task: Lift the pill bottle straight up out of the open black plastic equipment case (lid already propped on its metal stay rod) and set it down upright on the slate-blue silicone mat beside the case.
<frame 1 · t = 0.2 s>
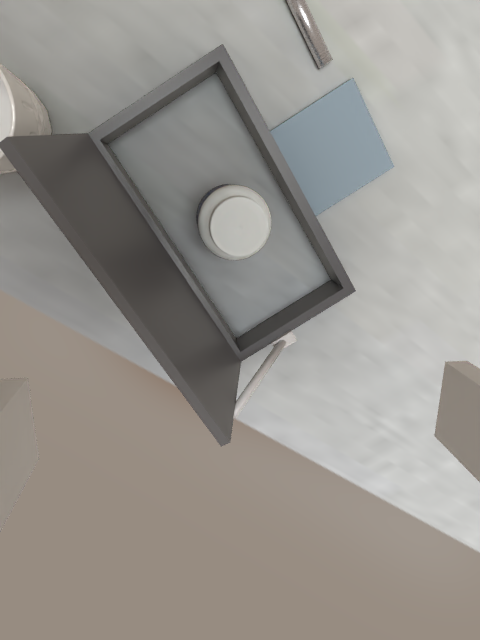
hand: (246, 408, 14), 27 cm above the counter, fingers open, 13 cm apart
pill bottle: (226, 216, 40), resting in case
white cup: (8, 126, 36), on the counter
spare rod: (300, 16, 36), on the counter
mat: (331, 150, 39), on the counter
case: (227, 216, 40), on the counter
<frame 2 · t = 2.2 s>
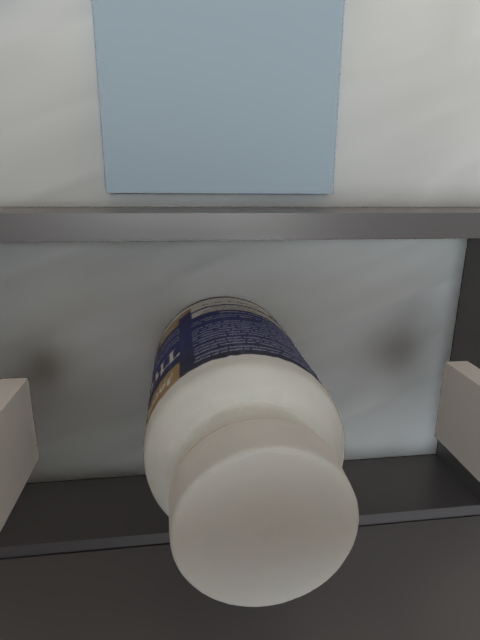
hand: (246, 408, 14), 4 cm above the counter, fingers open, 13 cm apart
pill bottle: (221, 357, 19), resting in case
mat: (220, 70, 16), on the counter
case: (222, 359, 19), on the counter
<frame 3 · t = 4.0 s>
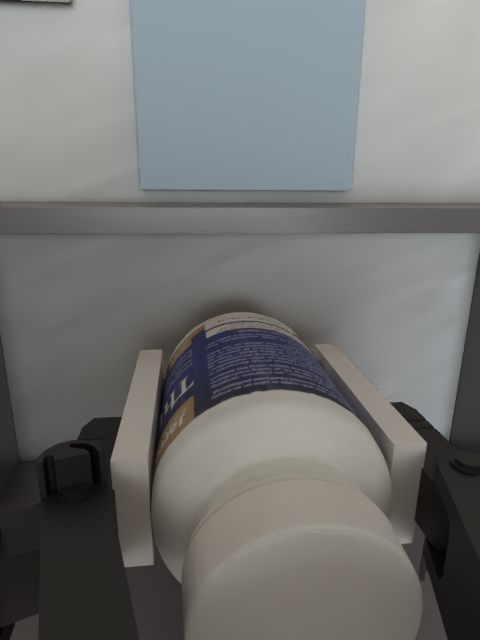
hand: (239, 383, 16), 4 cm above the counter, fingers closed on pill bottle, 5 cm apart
pill bottle: (238, 377, 17), point 3 cm above the counter, touching gripper
mat: (247, 75, 17), on the counter
case: (244, 346, 20), on the counter
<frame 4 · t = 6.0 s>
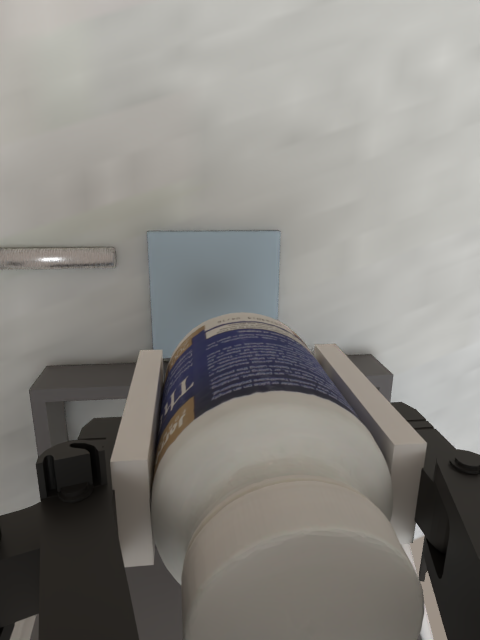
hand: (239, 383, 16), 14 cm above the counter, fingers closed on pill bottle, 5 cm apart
pill bottle: (238, 378, 17), point 13 cm above the counter, touching gripper
white cup: (15, 579, 34), on the counter
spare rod: (47, 256, 27), on the counter
mat: (214, 294, 29), on the counter
case: (216, 439, 32), on the counter
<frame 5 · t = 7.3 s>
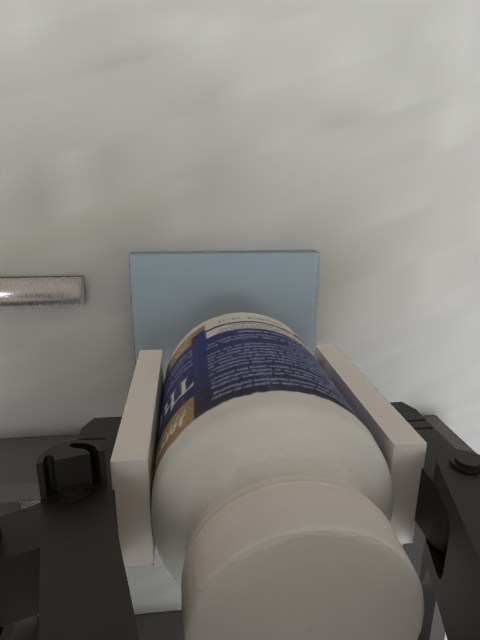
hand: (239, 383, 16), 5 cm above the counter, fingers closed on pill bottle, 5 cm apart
pill bottle: (238, 378, 17), point 4 cm above the counter, touching gripper
mat: (225, 339, 21), on the counter
case: (225, 528, 24), on the counter
when the fingers open (2 cm above the counter, at t = 8.2 s): pill bottle moves 1 cm, resting on mat.
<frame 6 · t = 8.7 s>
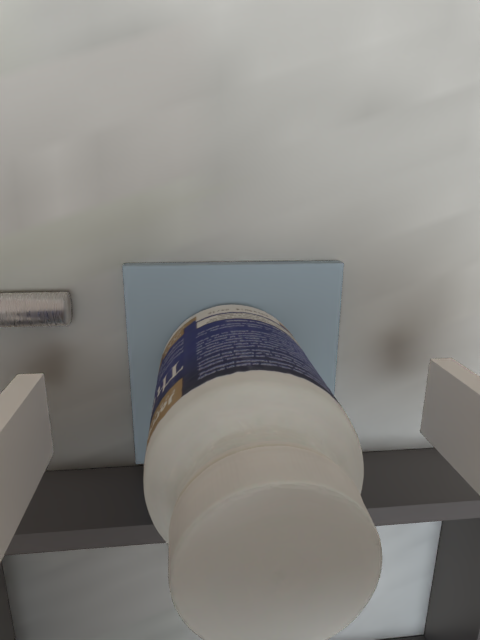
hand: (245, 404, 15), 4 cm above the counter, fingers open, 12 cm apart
pill bottle: (229, 367, 18), resting on mat
mat: (234, 361, 18), on the counter
case: (233, 572, 21), on the counter
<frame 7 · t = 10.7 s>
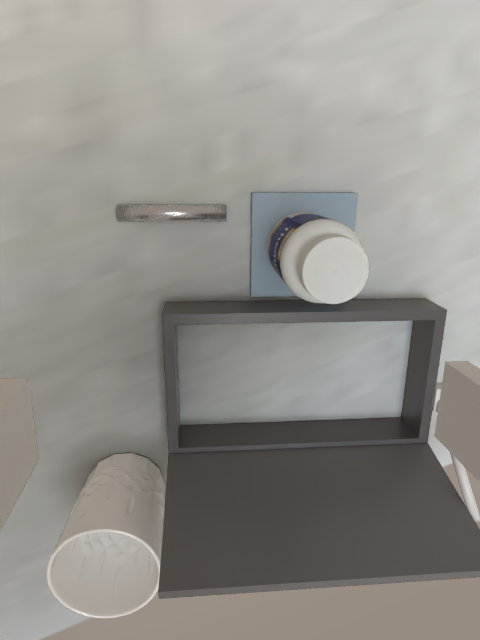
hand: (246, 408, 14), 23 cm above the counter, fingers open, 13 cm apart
pill bottle: (299, 246, 36), resting on mat
white cup: (127, 482, 42), on the counter
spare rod: (172, 212, 35), on the counter
mat: (301, 245, 36), on the counter
case: (295, 367, 39), on the counter
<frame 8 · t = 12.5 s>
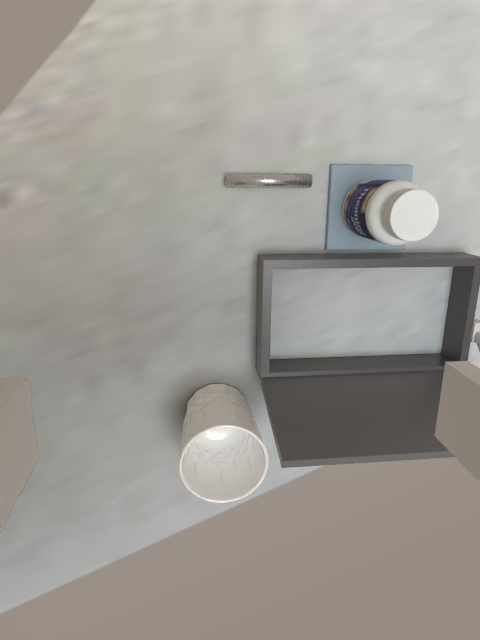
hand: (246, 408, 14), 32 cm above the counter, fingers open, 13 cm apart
pill bottle: (366, 208, 45), resting on mat
white cup: (216, 410, 50), on the counter
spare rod: (267, 180, 43), on the counter
mat: (367, 208, 45), on the counter
case: (358, 310, 48), on the counter
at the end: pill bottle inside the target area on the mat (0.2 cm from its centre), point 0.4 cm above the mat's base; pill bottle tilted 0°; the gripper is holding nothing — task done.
